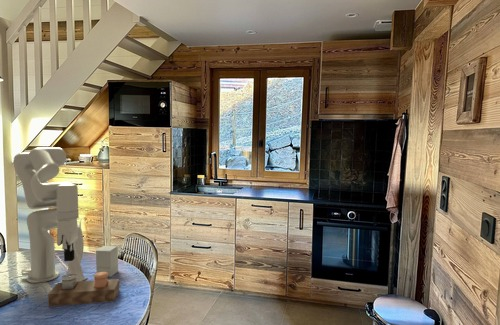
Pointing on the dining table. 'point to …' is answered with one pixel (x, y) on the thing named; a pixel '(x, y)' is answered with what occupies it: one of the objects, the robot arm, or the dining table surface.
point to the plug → (69, 281)
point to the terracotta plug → (101, 279)
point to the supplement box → (107, 260)
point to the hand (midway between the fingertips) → (69, 260)
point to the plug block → (83, 293)
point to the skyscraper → (77, 257)
